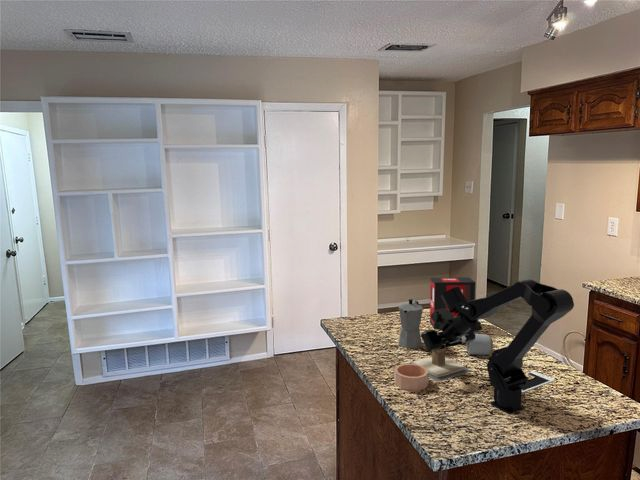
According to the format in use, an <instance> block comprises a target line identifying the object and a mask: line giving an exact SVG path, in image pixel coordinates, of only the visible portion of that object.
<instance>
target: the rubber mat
mask: <svg viewBox="0 0 640 480" xmlns="http://www.w3.org/2000/svg"><path fill="white" fill-rule="evenodd" d="M409 364H413V362H410V363H409ZM470 372H472V370H471V369H469V368H467V367H465V370H461V371H458V372H455V373H452V374H448V375H445V376H442V377H438V378H437V377H435V376H434V375H432V374H430V373H429V376H428V378H429V379H432V380H434V381H436V382H441V381H444V380H447V379H450V378H453V377H454V378H455V377H457V376H460V375H464V374H466V373H467V374H468V373H470Z"/></svg>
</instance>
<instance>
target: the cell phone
mask: <svg viewBox="0 0 640 480" xmlns="http://www.w3.org/2000/svg"><path fill="white" fill-rule="evenodd" d="M526 374H528V375H530V376H533V378H530V379H528V381H527V383H526V385H523V386H520V387H521V388H522V394H523V393H526V392H529V391H530V390H531V391H532V390H534V389H536V388H540V387H542V386H544V385H547V384H550V383H552V382H555V381H556V379H554V378H552V377H549V376H546V375H544V374H542V373H540V372H537V371H534V370H531V371H528V372H526Z"/></svg>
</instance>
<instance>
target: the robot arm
mask: <svg viewBox="0 0 640 480" xmlns="http://www.w3.org/2000/svg"><path fill="white" fill-rule="evenodd" d="M441 297H442V299H443V300H444V302H445V304H446V306H447V308H448V309H449V310H448V309H446V308H442V309H437V310H436V311H434V312H433V313H431V319H432V320H433V321H434V322H435V323H437V322H438V324H439V325H441V326H440V327H439V328H440V329H439V330H440V331H439V332H438V331H436V329H434V328H433V329H428V330H424V331H422V332H420V335H421V340H422V341H423V343H424V345H425V348H426V349H427V351H429V352H432V351H435V350H440V349H444V348H445V349H446V348H450V347H455V346H456V347H457V346H459V345H462V344H463V343H462V341H461V340H462V337H463V336H465V337H466V340H465V341H466V342H465V343H467V342H472V341H473V340H474V339H475V334H476V333H475V332H479V331H482V330H483V327H482V322H481V321H479V320H481V319H486V318H490V317H491V316H493V315H494V314H495V313H497V312H498V310H499V309H500V308H503V307H505V306H507V305H509V304H512V303H514V302H516V301H518V300H522V299H523V300H524V301H525V302H526V303H527V305H529V306H531V314H530V317H529V318H528V319H527V321H526V322H525V323H524V324H523V326H522V327H521V328H520V330H519V331H518V333H516V335H515V336H514V337H513V339H511V341H510V343H508V345H507V346H504V347H501V348H497V349H495V350H492V354H491V355H490V356H489V357H488V358H487V362H486V367H487V369H486V370H487V374H488V378H489V381H490V382H489V383H490V385H491V386H492V387H493V401H490V405H491V406H493V407H495V408H497V409H499V410H501V411H503V412H505V413H507V414H509V415H512V414H513V413H516V412H519V411H521V410H524V409H525V408H526V407H525V405H524V404H522V398H523V397H522V394H523V393H522V388H521V387H520V386H523V385H526V383H527V381H528V380H529V378H528V377H527V375H526V373H525V371H524V370H523V369H522V367H523V365H524V360H523V359H524V357H525V356H526V354H528V352H529V351H530V349H532V347H533V346H534V345H535V344H536V343H537V341H538V340H539V339H540V337H541V336H542V335H543V334H544V333H545V332H546V330H547V329H548V328H549V327H550V325H551V324H553V323H554V322H556V321H558V320H560V319H561V318H564V316H566V315H567V314H568V313H570V312H571V311H572V310H573V309H574V307H575V303H574V299H573V297H572V294H570V292H568V291H567V290H565V289H558V288H556V287H554V286H552V285H546V284H543V283H541V282H540V283H539V282H538V281H535V280H533V279H529V278H528V279H522V280H518V281H516V282H515V283H513V284H512V285H509V286H507V287H505V288H503V289H501V290H499V291H497V292H495V293H492V294H491V295H489V296H488V295H487V296H486V297H480V298H475V300H468V301H467V300H466V299H465V297H464V295H463V293H462V292H461V289H460V288H459V286H457V287H453V288H452V289H450V290H448V291H446V292H444V293H443V294H442V295H441ZM452 312H454V313H455V314H457V313H459V314H458V315H457V316H456V317H454V315H453V314H452ZM445 344H446V345H445ZM444 345H445V346H444Z"/></svg>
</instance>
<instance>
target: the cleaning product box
mask: <svg viewBox="0 0 640 480" xmlns="http://www.w3.org/2000/svg"><path fill="white" fill-rule="evenodd" d="M457 286H459V288H460V289H461V292H462V293H463V295H464V297H465V299H466V300H467V301H468V300H475V299H476V281H474V280H473V278H470V277H468V276H467V277H466V276H465V277H430V287H429V288H430V289H429V290H430V291H429V292H430V294H429V295H430V297H429V323H430V325H431V327H432V328H433V330H440V328H439V327H440V326H441V325H439V324H438V322H437V323H435V322H434V321H433V320H432V319H431V313H433V312H434V311H436V310H437V309H442V308H446V309H448V308H447V306H446V304H445V302H444V300H443V299H442V297H441V295H442V294H443V293H444V292H446V291H448V290H450V289H452V288H453V287H457ZM448 310H449V309H448ZM452 314H453V315H454V317H456V316H457V315H458V314H459V313H457V314H455V313H454V312H452Z"/></svg>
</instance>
